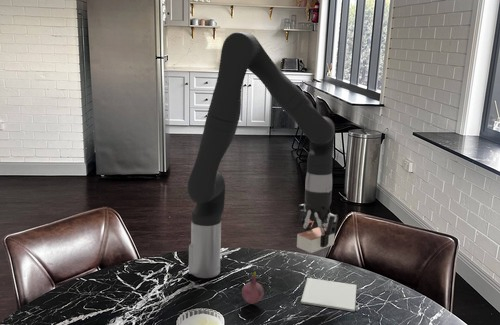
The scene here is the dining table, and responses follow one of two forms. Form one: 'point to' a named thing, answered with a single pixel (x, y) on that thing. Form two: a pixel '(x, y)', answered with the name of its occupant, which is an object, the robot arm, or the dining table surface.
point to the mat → (329, 294)
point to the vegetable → (252, 291)
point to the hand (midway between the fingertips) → (315, 243)
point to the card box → (312, 240)
